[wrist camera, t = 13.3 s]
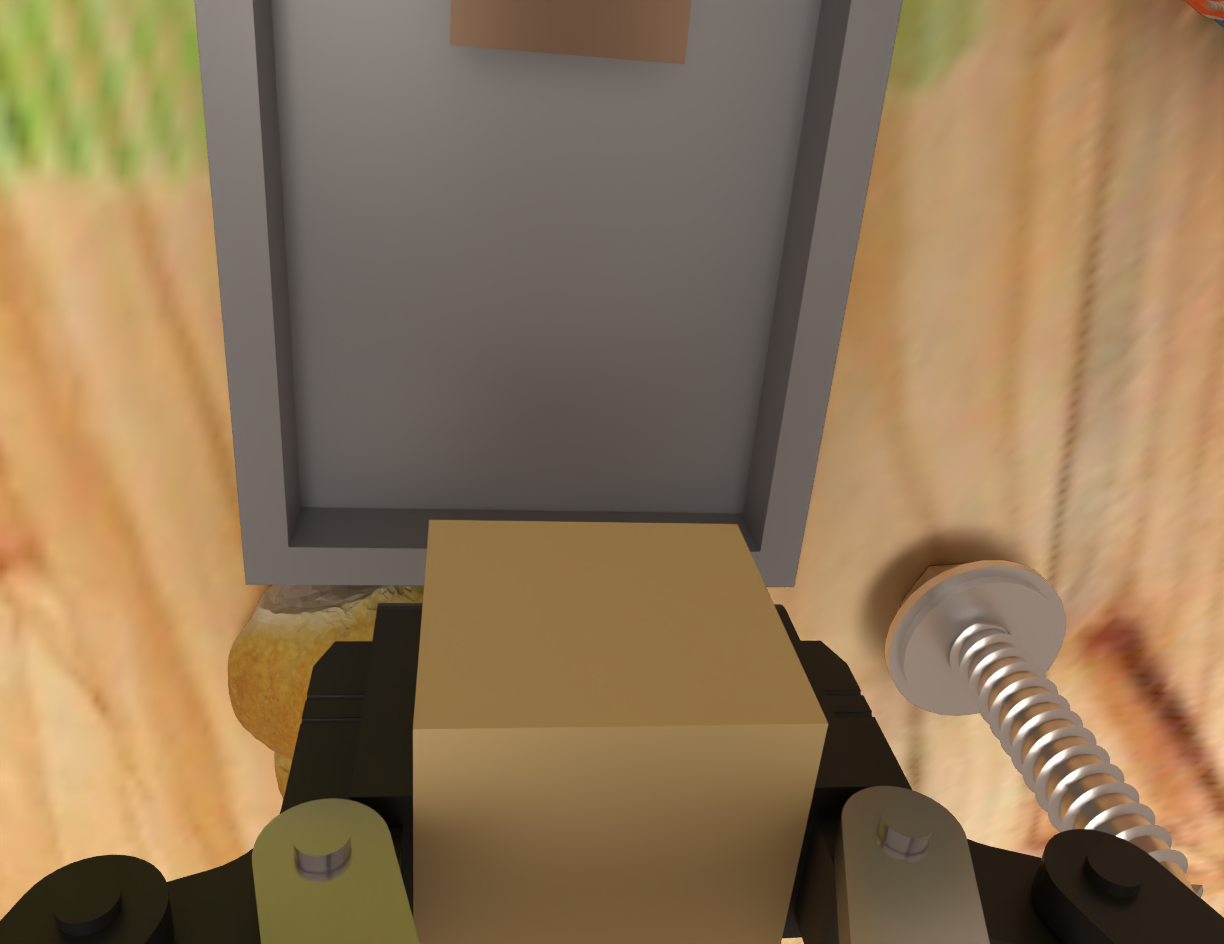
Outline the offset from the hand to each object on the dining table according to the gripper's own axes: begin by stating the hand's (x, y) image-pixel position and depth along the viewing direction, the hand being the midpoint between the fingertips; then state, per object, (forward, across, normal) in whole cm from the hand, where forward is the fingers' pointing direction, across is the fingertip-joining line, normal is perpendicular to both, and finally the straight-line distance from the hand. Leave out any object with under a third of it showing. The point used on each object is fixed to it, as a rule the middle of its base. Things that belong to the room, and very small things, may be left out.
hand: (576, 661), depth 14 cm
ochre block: (0, 0, 0) cm, 0 cm away
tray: (+12, 0, -4) cm, 13 cm away
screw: (+12, -12, +7) cm, 19 cm away
